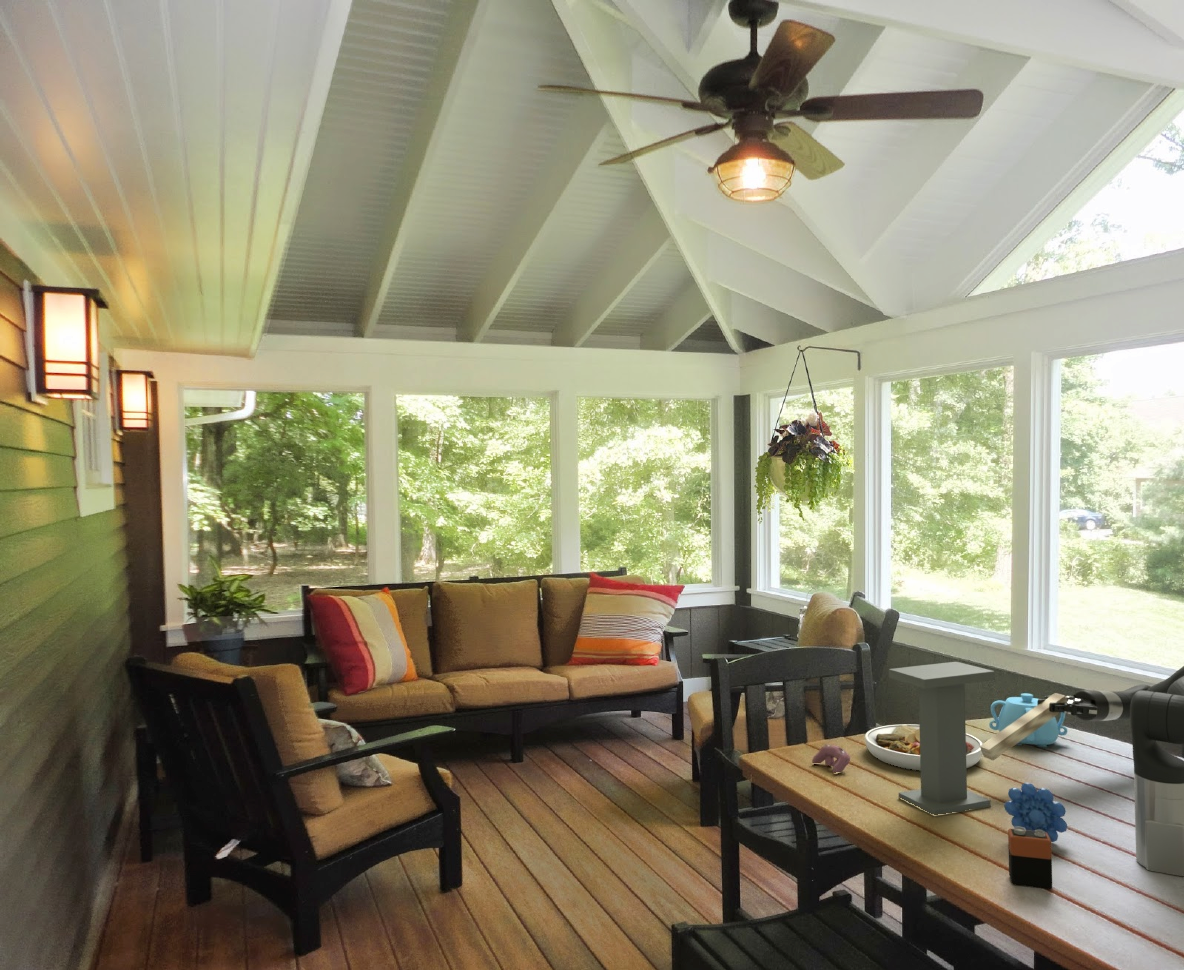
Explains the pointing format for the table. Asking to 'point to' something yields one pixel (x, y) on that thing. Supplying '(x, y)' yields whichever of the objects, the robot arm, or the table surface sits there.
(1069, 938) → the table surface
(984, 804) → the plant stand
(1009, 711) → the decorative pot
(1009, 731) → the birch rod
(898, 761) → the bowl
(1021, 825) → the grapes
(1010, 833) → the battery
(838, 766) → the video game controller
